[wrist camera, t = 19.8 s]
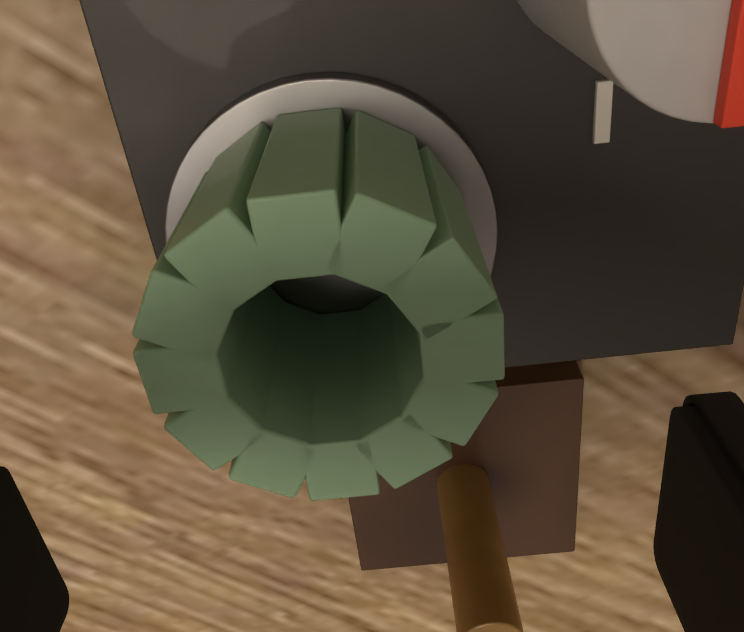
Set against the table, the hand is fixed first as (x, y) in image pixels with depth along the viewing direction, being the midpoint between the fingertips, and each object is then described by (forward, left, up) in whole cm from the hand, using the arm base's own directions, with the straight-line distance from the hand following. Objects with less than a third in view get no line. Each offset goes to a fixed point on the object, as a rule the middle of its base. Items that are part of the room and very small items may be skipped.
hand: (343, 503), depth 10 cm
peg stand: (-3, +10, -12) cm, 16 cm away
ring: (0, 0, -8) cm, 8 cm away
